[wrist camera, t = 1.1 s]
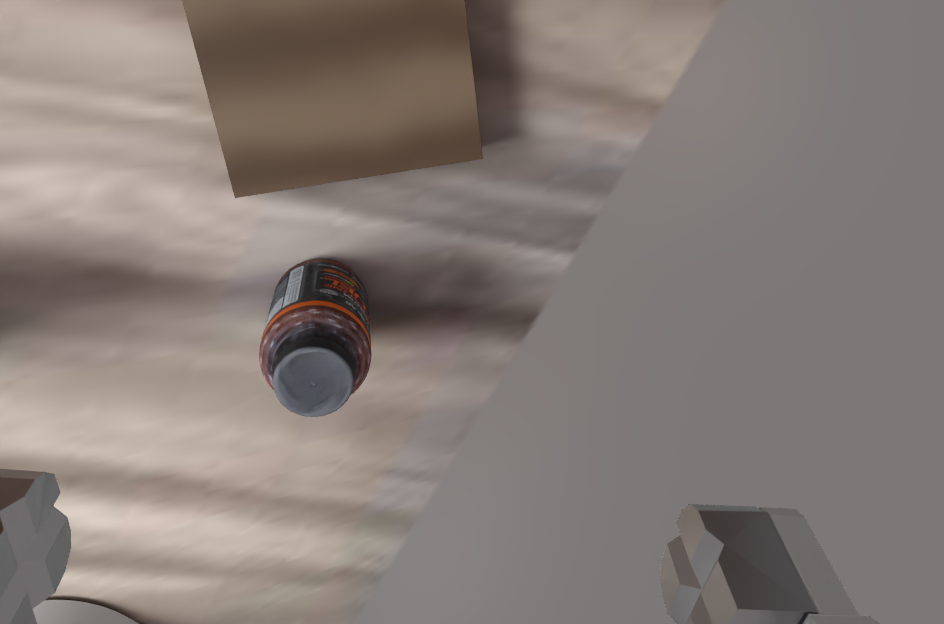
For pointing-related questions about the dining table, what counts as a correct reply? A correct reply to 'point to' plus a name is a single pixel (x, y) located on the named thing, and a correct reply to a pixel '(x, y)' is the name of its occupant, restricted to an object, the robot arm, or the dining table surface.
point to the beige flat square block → (335, 88)
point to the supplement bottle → (316, 338)
